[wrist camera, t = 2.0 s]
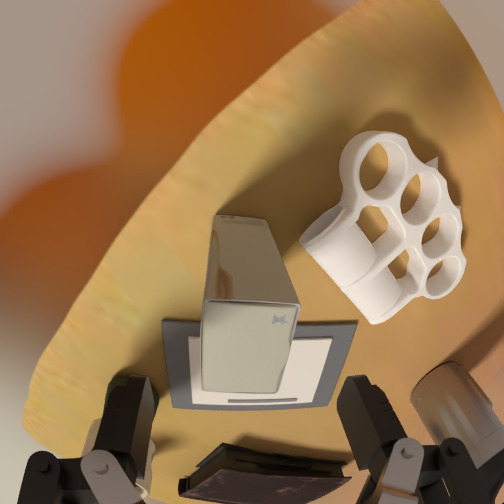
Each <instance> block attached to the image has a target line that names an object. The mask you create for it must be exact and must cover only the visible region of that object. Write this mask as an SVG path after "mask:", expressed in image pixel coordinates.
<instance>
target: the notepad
mask: <svg viewBox="0 0 504 504" xmlns="http://www.w3.org/2000/svg"><path fill="white" fill-rule="evenodd" d="M356 326H357V324H356V323H326V324H296V328H295V332H294V336H293V340H292V344H291V349H290V353H289V357H288V361H287V364H286V367H285V371H284V375H283V378H282V382H281V385H280V388H279V391H278V392H277V393H276V394H244V393H223V392H208V391H202V390H201V374H200V327H201V322H193V321H176V320H162V331H163V341H164V350H165V358H166V366H167V373H168V381H169V387H170V394H171V400H172V407H173V408H183V409H199V410H228V411H254V410H283V409H299V408H311V407H322V406H328V403H329V401H330V398H331V396H332V393H333V391H334V388H335V386H336V383H337V381H338V378H339V375H340V373H341V370H342V367H343V365H344V362H345V359H346V356H347V353H348V350H349V348H350V345H351V342H352V339H353V336H354V333H355V329H356Z"/></svg>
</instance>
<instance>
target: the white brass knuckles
mask: <svg viewBox="0 0 504 504" xmlns="http://www.w3.org/2000/svg"><path fill="white" fill-rule="evenodd" d="M377 143H379V144H381V145H382V146H383V148H384V149H385V151H386V153H387V155H388V169H387V171H386V173H385V175H384V177H383V179H382V180H381V182H380V183H379V184H378V185H377V186H376V187H375V188H374V189H372V190H368V191H364V189H363V188H362V186H361V183H360V179H359V170H360V166H361V163H362V161H363V159H364V158H365V156H366V154H367V153H368V151H369V150H370V148H371V147H372V146H374V145H375V144H377ZM339 174H340V179H341V182H342V185H343V192H342V196H341V199H340V202H339V203H338V204H337V205H336V206H334V207H333V208H331V209H329V210H328V211H326V212H325V213H323V214H322V215H321V216H320V217H319V218H318V219H317V220H315V221H314V222H313V223H312V224H311V225H310V226H309V227H308V228H307V229H306V231H305V232H304V233H303V234H302V236H301V237H300V240H299V243H300V244H301V245H302V246H303V247H304V249H305V250H306V251H307V252H308V253H309V254H310V255H311V256H312V257H313V258H314V259H315V260H316V261H317V263H318V264H319V265H320V266H321V267H322V268H323V269H324V270H325V271H326V273H327V274H328V275H329V276H330V277H331V278H332V279H333V280H334V282H335V283H336V284H337V285H338V286H339V287H340V289H341V290H342V291H343V292H344V293H345V294H346V295H347V296H348V297H349V299H350V300H351V301H352V302H353V303H354V304H355V305H356V307H357V308H358V309H359V310H360V311H361V312H362V314H363V315H364V316H365V317H366V318H367V320H368V321H369V322H370V324H378V323H381V322H384V321H386V320H387V319H389V318H390V317H392V316H393V315H394V314H395V313H396V312H398V311H399V310H400V309H402V308H403V307H404V306H405V305H406V304H407V303H408V302H409V301H410V300H412V299H413V298H415V297H419V296H425V297H427V298H429V299H438V298H441V297H444V296H445V295H447V294H448V293H450V292H451V291H452V290H453V289H454V288H455V287H456V285H457V284H458V283H459V281H460V279H461V278H462V275H463V273H464V270H465V266H466V257H465V256H464V255H463V253H462V250H461V232H462V228H463V226H462V220H461V214H460V209H461V207H462V206H455V205H454V204H453V202H452V201H451V199H450V197H449V194H448V189H447V181H446V179H445V178H444V177H443V176H442V175H441V174H440V173H439V171H438V157H436V158H434V159H432V160H430V161H428V162H427V163H423V162H421V161H420V160H419V159H418V158H417V157H416V156H415V155H414V153H413V152H412V150H411V148H410V146H409V144H408V141H407V139H406V138H405V137H404V136H402V135H400V134H398V133H394V132H387V131H365V132H362V133H359V134H357V135H356V136H354V137H353V138H352V139H351V140H350V141H349V142H348V143H347V144H346V146H345V147H344V149H343V151H342V154H341V157H340V162H339ZM415 174H418V176H419V178H420V181H421V191H420V194H419V197H418V199H417V200H416V202H415V204H414V205H413V207H412V208H411V209H410V210H409V211H408V212H406V213H404V214H402V213H401V208H400V201H401V196H402V193H403V191H404V189H405V188H406V186H407V184H408V182H409V181H410V179H411V178H412V177H413V176H414V175H415ZM367 205H371V206H378V207H379V209H380V210H381V212H382V213H383V215H384V216H385V218H386V219H387V221H388V228H387V230H386V231H385V232H384V233H383V234H382V235H381V236H380V237H379V238H378V239H377V240H375V241H374V242H373V243H372V244H371V243H370V241H369V240H368V238H367V237H366V236H365V234H364V233H363V232H362V230H361V229H360V228H359V226H358V225H357V224H356V221H357V220H358V219H359V215H360V212H361V210H362V208H363V207H365V206H367ZM438 217H440V225H439V229H438V231H437V233H436V235H435V236H434V237H433V238H432V239H431V240H430V241H428V242H426V243H425V244H423V245H422V236H423V233H424V231H425V229H426V227H427V226H428V224H429V223H430V222H431V221H433V220H434V219H436V218H438ZM404 249H406V251H407V252H408V254H409V261H408V264H407V268H406V273H405V275H404V276H403V277H402V278H400V279H395V277H394V276H393V274H392V273H391V271H390V270H389V268H388V267H387V265H388V264H389V263H391V262H392V261H393V260H394V259H395V258H396V257H397V256H398V255H399V254H400V253H401V252H402V251H403V250H404ZM441 260H443V263H442V266H441V268H440V269H439V271H438V272H437V273H436V274H435V275H434V276H432V277H430V278H429V279H427V277H428V274H429V272H430V271H431V269H432V268H433V267H434V266H435V265H436V264H437V263H438V262H440V261H441Z"/></svg>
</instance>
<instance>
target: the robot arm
mask: <svg viewBox="0 0 504 504" xmlns="http://www.w3.org/2000/svg"><path fill="white" fill-rule="evenodd" d="M411 402H412V404H413V406H414V407H415V409H416V411H417V413H418V415H419V416H420V418H421V420H422V422H423V424H424V425H425V427H426V429H427V431H428V433H429V434H430V436H431V438H432V440H433V442H434V443H435V445H421V444H420V443H419V442H418V441H417V440H415V439H413V438H408V436H407V435H406V433H405V431H404V429H403V427H402V425H401V423H400V421H399V419H398V417H397V416H396V414H395V412H394V410H393V408H392V406H391V404H390V403H389V400H388V399H387V397H386V395H385V393H384V392H383V391H382V390H381V389H380V388H379V387H378V386H377V385H371V383H370V381H369V380H368V378H367V376H366V375H355V376H348V377H347V378H346V380H345V382H344V385H343V387H342V389H341V392H340V394H339V396H338V399H337V411H338V414H339V417H340V419H341V422H342V425H343V428H344V430H345V433H346V436H347V438H348V441H349V444H350V447H351V449H352V452H353V455H354V458H355V460H356V463H357V466H358V469H359V471H361V470H365V469H369V472H370V474H369V475H368V477H367V480H366V482H365V484H364V487H363V489H362V491H361V493H360V496H359V498H358V500H357V503H356V504H495V499H496V496H497V494H498V492H499V490H500V488H501V487H502V485H503V483H504V426H503V424H502V422H501V421H500V420H499V418H498V417H497V415H496V414H495V413H494V411H493V410H492V402H491V401H490V400H489V398H488V397H487V396H486V394H485V393H484V392H483V390H482V389H481V388H480V386H479V385H478V384H477V383H476V381H475V380H474V379H473V378H472V376H471V375H470V374H469V373H468V371H467V370H466V369H465V368H464V366H463V365H462V366H459V365H458V364H457V363H455V362H449V363H446V364H443V365H441V366H439V367H437V368H436V369H434V370H433V371H431V372H430V373H429V374H428V375H426V376H425V377H424V378H423V379H422V380H421V381H420V382H419V384H418V385H417V386H416V388H415V389H414V391H413V393H412V395H411ZM103 414H104V415H103V416H102V419H101V423H100V426H99V430H98V433H97V437H96V440H95V444H94V447H93V448H92V450H91V451H90V452H88V453H87V454H86V455H85V456H83V457H80V458H70V459H57V458H56V457H55V456H54V455H53V454H51V453H50V452H47V451H38V452H35V453H34V454H32V455H31V456H30V458H29V459H28V462H27V466H26V469H25V473H24V477H23V481H22V485H21V489H20V494H19V497H18V502H17V504H146V503H145V502H144V500H143V499H142V498H141V496H140V495H139V493H138V492H137V491H136V489H135V485H136V478H137V479H143V480H144V477H145V469H146V462H147V455H148V448H149V441H150V434H151V428H152V422H153V416H154V398H153V393H152V389H151V384H150V379H149V377H148V376H140V375H129V377H128V381H127V384H126V387H124V386H116V388H115V389H114V390H113V391H112V392H111V393H110V394H109V397H108V400H107V403H106V407H105V410H104V413H103ZM442 478H443V480H444V482H445V484H446V487H447V489H448V492H449V494H450V497H449V495H448V492H447V490H446V487H445V485H444V482H443V480H442ZM502 504H504V503H502Z"/></svg>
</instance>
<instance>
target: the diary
mask: <svg viewBox="0 0 504 504" xmlns="http://www.w3.org/2000/svg"><path fill="white" fill-rule="evenodd" d="M272 454H275V453H272ZM272 454H266V453H260V452H257V451H254V450H250V449H247V448H243V447H238V446H234V445H230V444H226V443H221V444H220V445H219V446H218V447H217V448H216V449H215V450H214V451H213V452H212V453H210V454H209V455H208V456H207V457H206V458H205V459H204V460H202V461H201V462H200V463H199V464H198V465H197V466H195V467H200V468H199V469H198V470H197V471H196V472H194V473H193V474H192V475H191V477H188V479H187V480H184V479H179V484H178V493H179V496H180V497H184V498H190V499H196V500H202V501H209V502H216V503H222V504H306V503H309V502H311V501H314V500H316V499H318V498H321V497H322V496H324V495H326V494H328V493H330V492H332V491H334V490H335V489H337V488H339V487H340V486H342V485H343V484H345V483H346V482H348V481H349V480H350V479H351V478H352V477H344V476H343V472H342V469H341V466H343V465H346V464H348V463H346V462H344V461H336V460H325V459H313V458H302V457H293V456H288V455H282V454H275V455H272ZM185 477H187V476H185Z"/></svg>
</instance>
